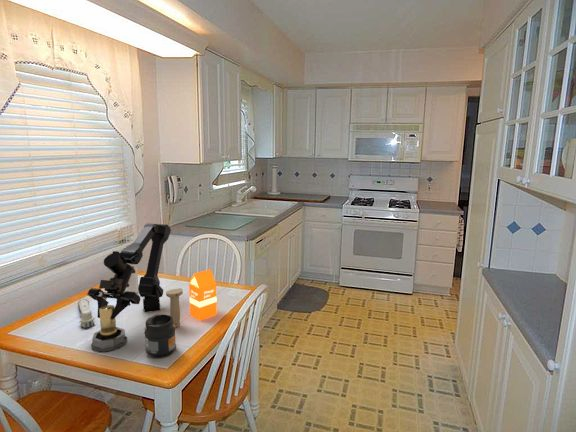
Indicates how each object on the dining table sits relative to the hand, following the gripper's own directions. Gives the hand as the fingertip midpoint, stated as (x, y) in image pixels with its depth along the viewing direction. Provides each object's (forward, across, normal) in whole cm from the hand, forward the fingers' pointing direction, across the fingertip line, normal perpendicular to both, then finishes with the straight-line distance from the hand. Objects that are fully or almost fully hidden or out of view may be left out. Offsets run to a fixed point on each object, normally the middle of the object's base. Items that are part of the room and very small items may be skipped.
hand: (105, 318), depth 136 cm
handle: (-6, +18, +21) cm, 28 cm away
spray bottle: (-26, -20, +41) cm, 53 cm away
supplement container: (+8, +21, +8) cm, 24 cm away
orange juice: (-14, +25, +30) cm, 41 cm away
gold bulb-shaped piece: (+4, 0, +6) cm, 7 cm away
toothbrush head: (-6, -24, +22) cm, 33 cm away
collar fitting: (+7, 0, +8) cm, 11 cm away
